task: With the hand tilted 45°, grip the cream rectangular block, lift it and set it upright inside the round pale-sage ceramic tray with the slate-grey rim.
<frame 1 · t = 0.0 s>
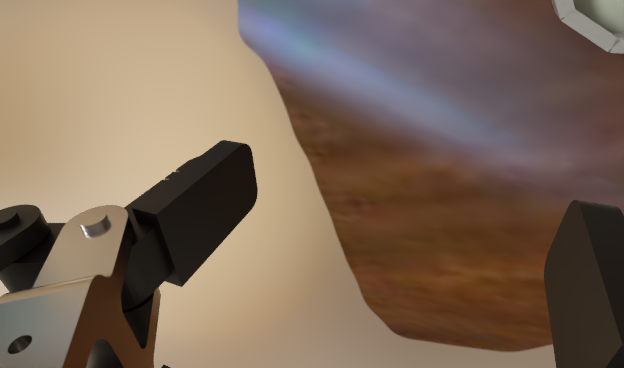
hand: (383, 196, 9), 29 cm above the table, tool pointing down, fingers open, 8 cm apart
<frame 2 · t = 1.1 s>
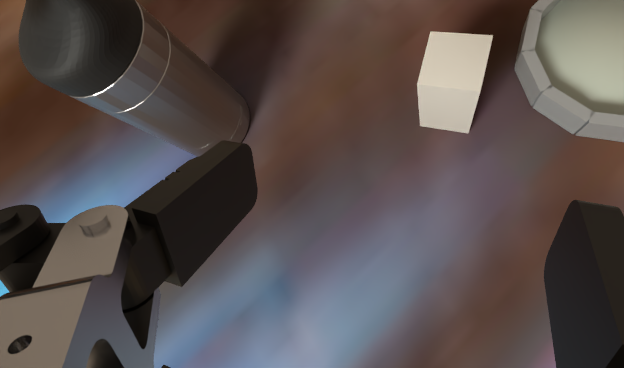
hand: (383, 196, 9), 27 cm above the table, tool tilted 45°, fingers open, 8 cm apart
round tray: (617, 55, 32), on the table
cream rectangular block: (448, 108, 36), on the table
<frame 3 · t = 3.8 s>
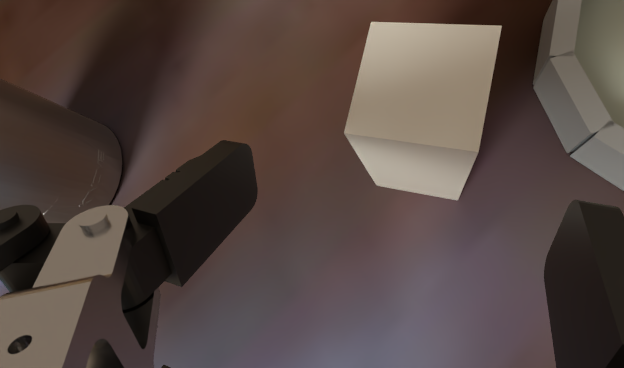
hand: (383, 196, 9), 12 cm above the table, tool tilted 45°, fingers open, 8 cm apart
cream rectangular block: (423, 155, 21), on the table
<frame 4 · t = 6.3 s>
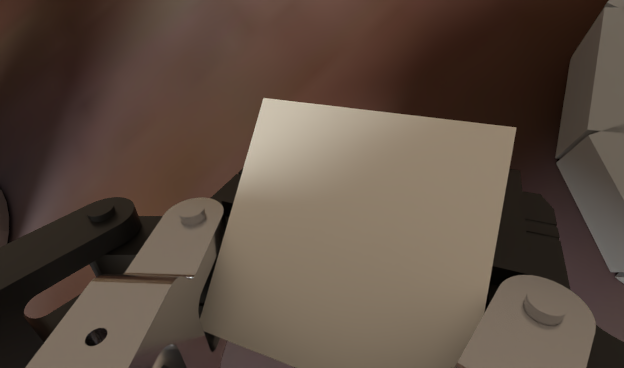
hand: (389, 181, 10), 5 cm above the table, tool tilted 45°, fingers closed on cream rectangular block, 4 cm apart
cream rectangular block: (393, 255, 15), on the table, touching gripper
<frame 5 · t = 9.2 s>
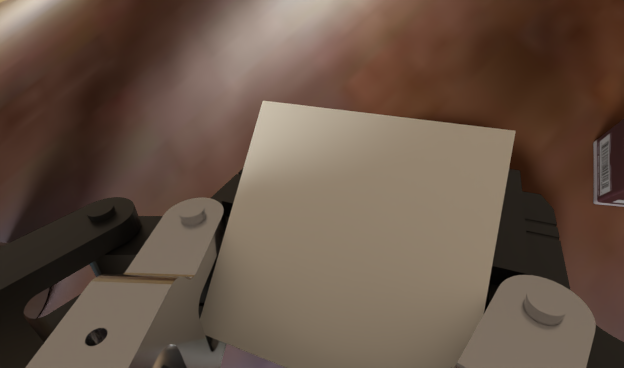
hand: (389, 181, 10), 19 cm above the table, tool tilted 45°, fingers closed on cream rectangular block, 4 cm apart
cream rectangular block: (393, 256, 15), point 14 cm above the table, touching gripper
when the fingers open (8 cm above the table, at t = 12.4 s): cream rectangular block drops 1 cm, resting on round tray.
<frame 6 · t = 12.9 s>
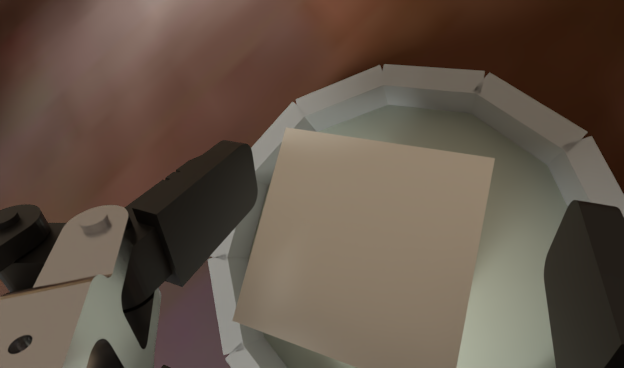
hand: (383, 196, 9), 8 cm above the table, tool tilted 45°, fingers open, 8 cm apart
round tray: (398, 257, 17), on the table
cream rectangular block: (394, 257, 16), point 1 cm above the table, touching round tray
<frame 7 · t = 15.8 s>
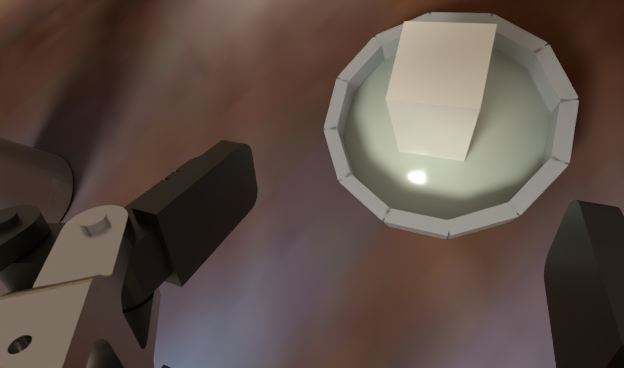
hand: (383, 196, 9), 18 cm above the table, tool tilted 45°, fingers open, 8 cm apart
round tray: (437, 131, 28), on the table
cream rectangular block: (437, 127, 27), point 1 cm above the table, touching round tray
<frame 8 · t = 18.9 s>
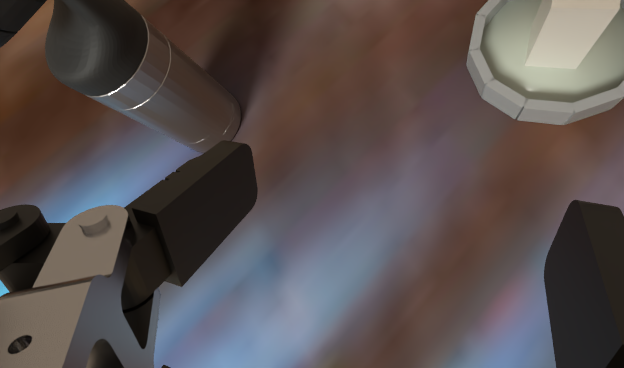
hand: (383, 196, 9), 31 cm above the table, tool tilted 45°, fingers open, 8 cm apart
round tray: (550, 52, 38), on the table
cream rectangular block: (552, 47, 37), point 1 cm above the table, touching round tray
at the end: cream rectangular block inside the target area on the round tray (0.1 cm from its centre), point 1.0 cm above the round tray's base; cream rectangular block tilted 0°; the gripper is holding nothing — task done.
